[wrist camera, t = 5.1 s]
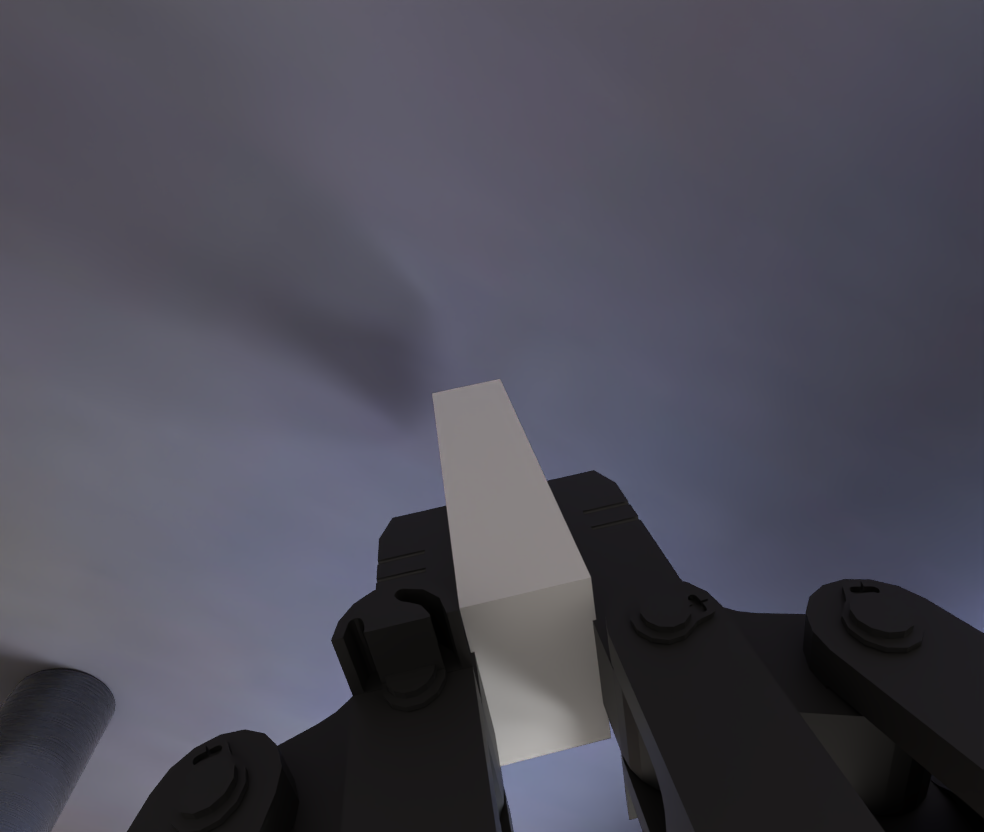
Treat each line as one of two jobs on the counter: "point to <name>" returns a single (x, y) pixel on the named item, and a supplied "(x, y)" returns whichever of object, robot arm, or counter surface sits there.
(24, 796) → the post
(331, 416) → the counter surface
